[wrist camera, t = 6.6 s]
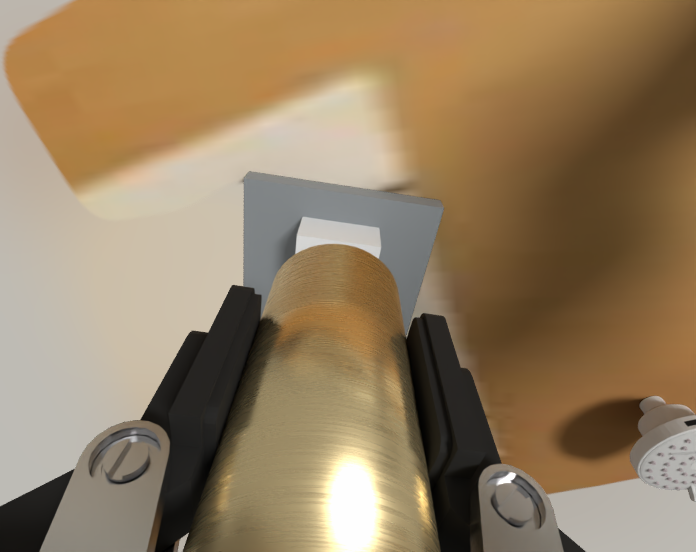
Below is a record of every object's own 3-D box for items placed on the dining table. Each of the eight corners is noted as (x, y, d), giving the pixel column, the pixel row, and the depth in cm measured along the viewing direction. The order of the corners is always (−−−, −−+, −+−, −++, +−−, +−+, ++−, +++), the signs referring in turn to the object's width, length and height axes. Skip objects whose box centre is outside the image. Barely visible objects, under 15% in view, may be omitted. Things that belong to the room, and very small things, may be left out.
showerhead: (640, 510, 37) (648, 448, 32) (600, 442, 43) (602, 381, 38) (754, 496, 35) (781, 428, 30) (695, 426, 41) (710, 361, 36)
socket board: (249, 171, 28) (231, 193, 24) (440, 200, 29) (452, 226, 25) (246, 369, 38) (234, 406, 35) (386, 386, 39) (389, 424, 35)
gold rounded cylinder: (276, 233, 11) (147, 553, 4) (412, 255, 11) (497, 586, 5) (267, 339, 13) (172, 665, 6) (383, 355, 13) (411, 684, 7)
